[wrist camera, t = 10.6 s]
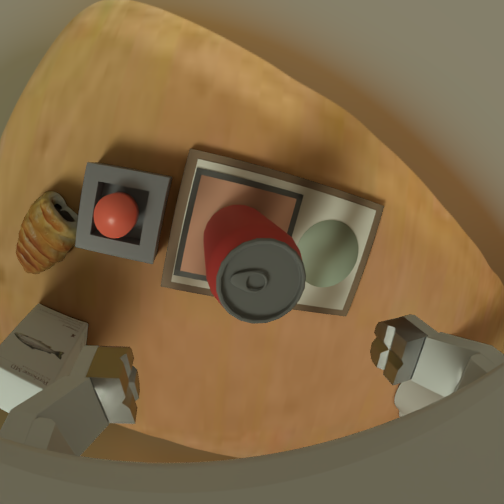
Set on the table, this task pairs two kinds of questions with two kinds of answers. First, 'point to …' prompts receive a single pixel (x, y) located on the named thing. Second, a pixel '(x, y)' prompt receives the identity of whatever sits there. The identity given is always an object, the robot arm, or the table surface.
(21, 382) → the supplement box
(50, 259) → the pastry
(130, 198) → the button
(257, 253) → the beer can
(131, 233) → the button base
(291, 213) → the picture board
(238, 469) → the robot arm
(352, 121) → the table surface
